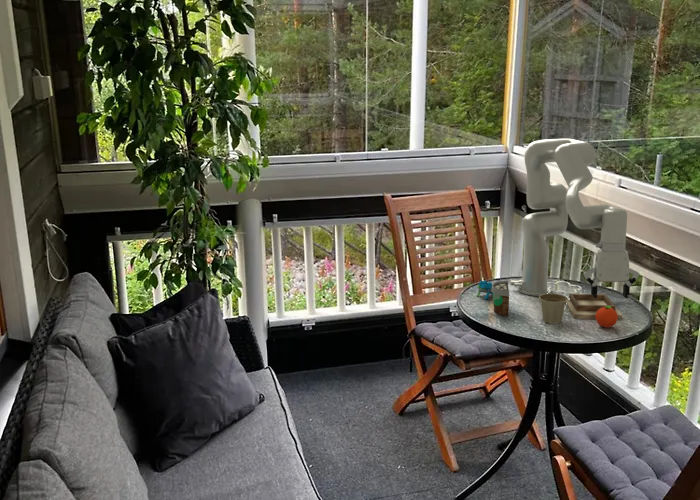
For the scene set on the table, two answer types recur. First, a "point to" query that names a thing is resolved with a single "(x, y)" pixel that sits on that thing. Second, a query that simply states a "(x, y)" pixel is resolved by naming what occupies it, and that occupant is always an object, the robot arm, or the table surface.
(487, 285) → the toy dinosaur
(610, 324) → the clementine
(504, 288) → the food container
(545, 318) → the flower pot
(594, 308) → the board
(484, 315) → the table surface
